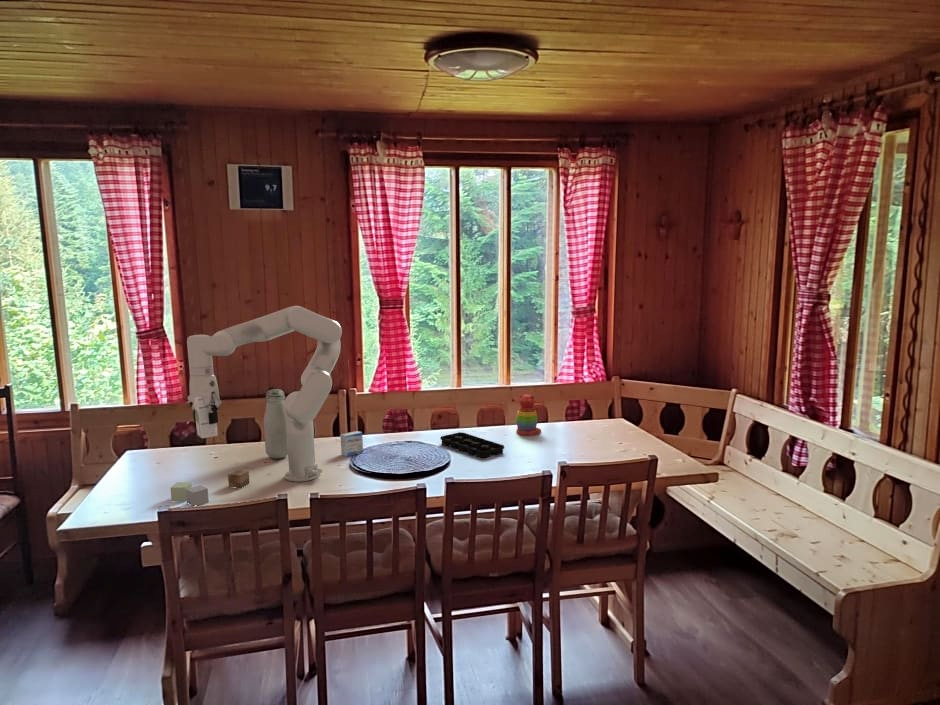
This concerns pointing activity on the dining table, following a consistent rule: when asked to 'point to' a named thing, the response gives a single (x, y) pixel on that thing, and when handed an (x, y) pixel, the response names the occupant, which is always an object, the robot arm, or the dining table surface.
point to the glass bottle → (275, 425)
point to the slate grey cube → (197, 495)
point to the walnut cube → (238, 478)
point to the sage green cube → (180, 491)
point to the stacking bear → (527, 417)
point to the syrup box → (203, 419)
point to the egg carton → (472, 445)
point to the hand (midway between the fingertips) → (206, 421)
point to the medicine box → (351, 443)
